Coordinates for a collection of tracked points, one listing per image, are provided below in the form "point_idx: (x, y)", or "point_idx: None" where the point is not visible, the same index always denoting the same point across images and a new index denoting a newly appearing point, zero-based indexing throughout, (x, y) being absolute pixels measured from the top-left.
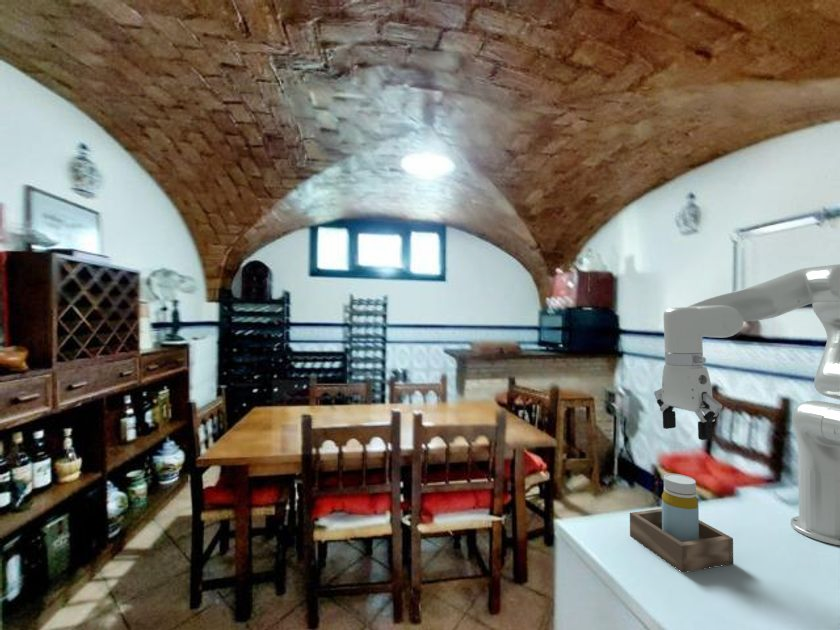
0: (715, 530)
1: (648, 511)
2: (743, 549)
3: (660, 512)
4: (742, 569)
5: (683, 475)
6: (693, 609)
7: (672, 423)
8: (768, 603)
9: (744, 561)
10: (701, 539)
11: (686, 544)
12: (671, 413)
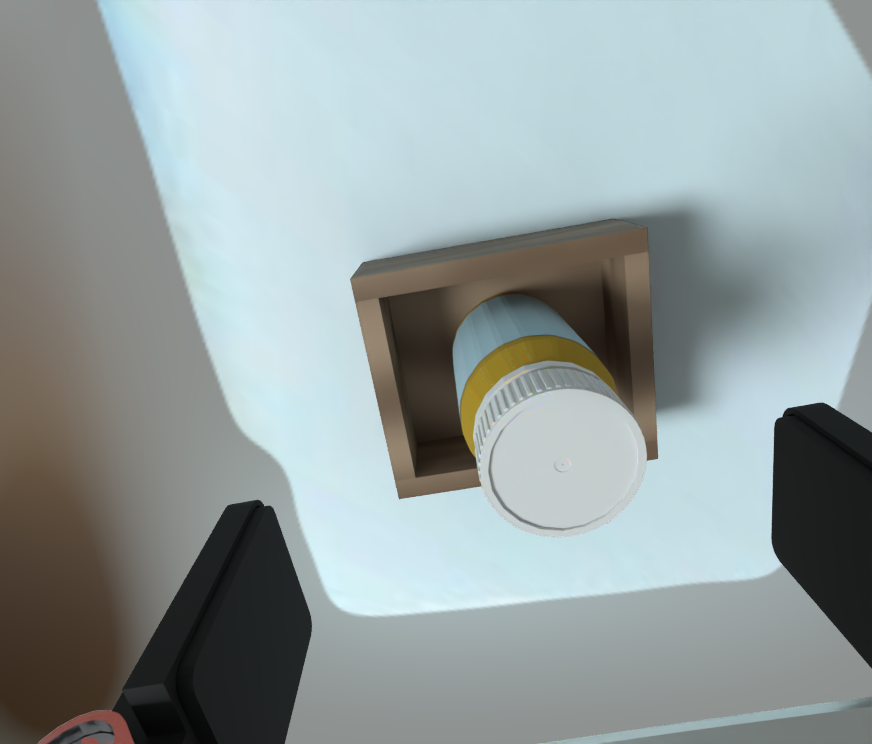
0: (577, 252)
1: (391, 422)
2: (529, 89)
3: (394, 372)
4: (644, 210)
5: (515, 409)
6: (766, 486)
7: (271, 582)
8: (802, 273)
9: (603, 159)
10: (632, 362)
11: (653, 438)
12: (223, 727)
